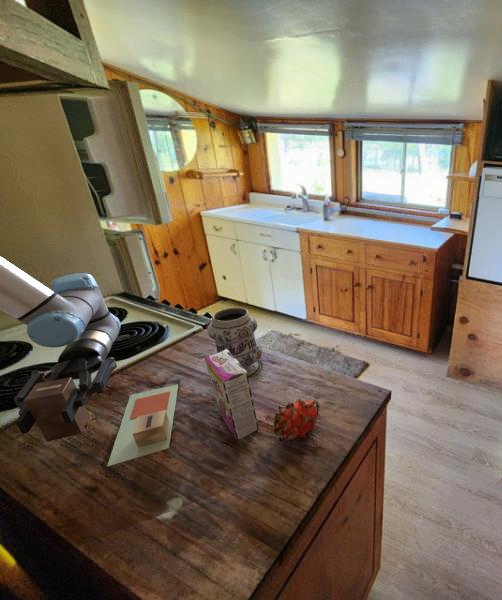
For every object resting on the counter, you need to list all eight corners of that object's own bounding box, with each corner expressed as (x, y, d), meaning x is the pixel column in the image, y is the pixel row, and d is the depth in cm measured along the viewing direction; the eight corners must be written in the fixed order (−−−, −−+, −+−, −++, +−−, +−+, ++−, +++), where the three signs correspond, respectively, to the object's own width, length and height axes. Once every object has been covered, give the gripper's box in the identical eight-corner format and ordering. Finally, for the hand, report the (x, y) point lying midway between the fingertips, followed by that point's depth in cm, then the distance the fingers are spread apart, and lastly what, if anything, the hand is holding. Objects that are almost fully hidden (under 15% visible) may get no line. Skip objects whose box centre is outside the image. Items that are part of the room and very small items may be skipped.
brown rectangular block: (46, 442, 61) (23, 400, 56) (57, 423, 65) (35, 383, 60) (81, 433, 63) (61, 392, 59) (89, 415, 67) (71, 376, 63)
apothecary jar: (254, 353, 98) (244, 299, 91) (272, 371, 91) (263, 315, 83) (211, 369, 91) (197, 312, 83) (227, 391, 83) (213, 330, 75)
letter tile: (138, 448, 66) (131, 433, 64) (142, 430, 70) (136, 416, 68) (167, 439, 68) (162, 425, 67) (169, 423, 72) (165, 409, 71)
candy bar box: (218, 414, 76) (203, 356, 69) (239, 404, 79) (227, 347, 72) (236, 443, 69) (222, 381, 62) (259, 430, 72) (248, 370, 65)
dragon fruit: (272, 454, 68) (315, 425, 78) (294, 451, 64) (337, 421, 73) (257, 416, 69) (302, 392, 79) (278, 410, 64) (323, 386, 74)
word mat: (107, 468, 62) (106, 466, 62) (130, 396, 80) (130, 394, 80) (169, 449, 67) (168, 447, 66) (178, 385, 84) (178, 383, 84)
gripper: (138, 357, 81) (116, 422, 62) (39, 375, 73) (-20, 455, 54) (129, 331, 78) (103, 391, 59) (25, 347, 70) (-43, 422, 51)
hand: (44, 422), depth 57 cm, fingers closed on brown rectangular block, 5 cm apart
